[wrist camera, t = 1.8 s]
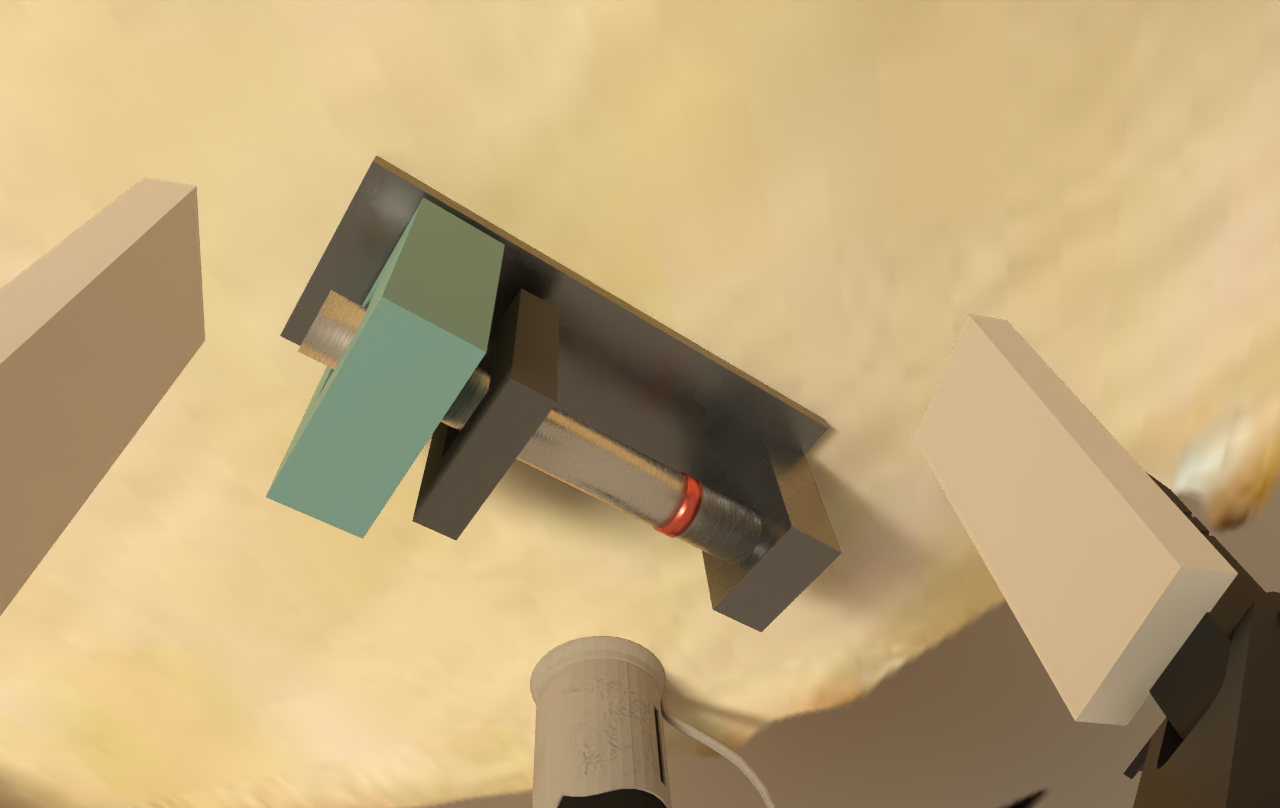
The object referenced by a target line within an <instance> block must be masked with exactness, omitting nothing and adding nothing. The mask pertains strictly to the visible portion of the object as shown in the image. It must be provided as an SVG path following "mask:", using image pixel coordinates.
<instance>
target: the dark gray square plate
mask: <svg viewBox="0 0 1280 808" xmlns="http://www.w3.org/2000/svg"><path fill="white" fill-rule="evenodd" d="M559 311H560V310H559V309H557V308H556V307H554V306H552V305H550V304H549V303H547V302H545V301H543V300H542V299H540V298H538V297H536V296H535V295H533V294H531V293H529V292H528V291H526V290H524V289H522V288H521V289H520V291H519V292H518V294H517V295H516V297H515V298H514V300H513V301H512V303H511V305H510V306H509V308H508V309H507V311H506V312H505V314H504V315H503V317H502V318H501V320H500V321H499V323H498V324H497V326H496V327H495V329H494V330H493V332H492V333H491V335H490V336H489V341H488V346H487V352H486V354H485V355H484V357H483V358H482V360H481V361H480V363H479V364H478V366H477V367H479V368H481V369H483V370H485V371H487V372H489V373H491V378H490V385H489V390H488V391H487V393H486V394H485V396H484V397H483V399H482V400H481V402H480V403H479V405H478V406H477V407H476V409H475V410H474V412H473V413H472V415H471V416H470V418H469V419H468V421H467V422H466V424H465V425H464V427H463V428H462V429H461V431H459V430H457V429H455V428H453V427H451V426H449V425H447V424H445V423H442V422H440V423H439V425H438V426H437V428H436V429H435V431H434V432H433V436H432V441H431V445H430V449H429V453H428V457H427V462H426V466H425V470H424V474H423V479H422V483H421V487H420V491H419V496H418V500H417V504H416V508H415V512H414V517H413V521H414V522H416V523H418V524H420V525H423V526H425V527H427V528H429V529H432V530H434V531H436V532H438V533H441V534H443V535H445V536H447V537H450V538H452V539H454V540H457V539H458V537H459V536H460V535H461V533H462V532H463V530H464V529H465V528H466V526H467V525H468V524H469V522H470V521H471V519H472V518H473V517H474V515H475V514H476V513H477V511H478V510H479V509H480V507H481V506H482V504H483V503H484V502H485V500H486V499H487V498H488V496H489V495H490V493H491V492H492V491H493V489H494V488H495V487H496V485H497V484H498V482H499V481H500V480H501V478H502V477H503V476H504V474H505V473H506V472H507V470H508V469H509V467H510V466H511V465H512V463H513V462H514V461H515V459H516V458H517V456H518V455H519V454H520V452H521V451H522V450H523V448H524V447H525V446H526V444H527V443H528V441H529V440H530V439H531V437H532V436H533V435H534V433H535V432H536V430H537V429H538V428H539V426H540V425H541V424H542V422H543V421H544V419H545V418H546V417H547V415H548V414H549V413H550V411H551V410H552V409H553V407H554V406H555V404H556V403H557V382H558V346H559Z"/></svg>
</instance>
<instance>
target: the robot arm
mask: <svg viewBox="0 0 1280 808" xmlns="http://www.w3.org/2000/svg"><path fill="white" fill-rule="evenodd" d="M204 341H205V330H204V312H203V294H202V276H201V258H200V240H199V222H198V204H197V186H193V185H187V184H181V183H175V182H169V181H163V180H157V179H151V178H145V177H144V178H143V179H142V180H140V181H139V182H138V183H136V184H135V185H134V186H133V187H131V188H130V189H129V190H127V191H126V192H125V193H124V194H122V195H121V196H120V197H118V198H117V199H116V200H115V201H113V202H112V203H111V204H109V205H108V206H107V207H106V208H104V209H103V210H102V211H100V212H99V213H98V214H96V215H95V216H94V217H93V218H91V219H90V220H89V221H87V222H86V223H85V224H84V225H82V226H81V227H80V228H78V229H77V230H76V231H75V232H73V233H72V234H71V235H69V236H68V237H67V238H66V239H64V240H63V241H62V242H60V243H59V244H58V245H57V246H55V247H54V248H53V249H51V250H50V251H49V252H48V253H46V254H45V255H44V256H42V257H41V258H40V259H39V260H37V261H36V262H35V263H33V264H32V265H31V266H29V267H28V268H27V269H26V270H24V271H23V272H22V273H20V274H19V275H18V276H17V277H15V278H14V279H13V280H11V281H10V282H9V283H8V284H6V285H5V286H4V287H2V288H1V289H0V616H1V614H2V613H3V612H4V610H5V609H6V608H7V606H8V605H9V604H10V602H11V601H12V600H13V598H14V597H15V596H16V594H17V593H18V591H19V590H20V589H21V587H22V586H23V585H24V583H25V582H26V581H27V579H28V578H29V577H30V575H31V574H32V573H33V571H34V570H35V569H36V567H37V566H38V565H39V563H40V562H41V560H42V559H43V558H44V556H45V555H46V554H47V552H48V551H49V550H50V548H51V547H52V546H53V544H54V543H55V542H56V540H57V539H58V538H59V536H60V535H61V534H62V532H63V531H64V530H65V528H66V527H67V525H68V524H69V523H70V521H71V520H72V519H73V517H74V516H75V515H76V513H77V512H78V511H79V509H80V508H81V507H82V505H83V504H84V503H85V501H86V500H87V499H88V497H89V496H90V494H91V493H92V492H93V490H94V489H95V488H96V486H97V485H98V484H99V482H100V481H101V480H102V478H103V477H104V476H105V474H106V473H107V472H108V470H109V469H110V468H111V466H112V465H113V463H114V462H115V461H116V459H117V458H118V457H119V455H120V454H121V453H122V451H123V450H124V449H125V447H126V446H127V445H128V443H129V442H130V441H131V439H132V438H133V437H134V435H135V434H136V433H137V431H138V430H139V428H140V427H141V426H142V424H143V423H144V422H145V420H146V419H147V418H148V416H149V415H150V414H151V412H152V411H153V410H154V408H155V407H156V406H157V404H158V403H159V402H160V400H161V399H162V397H163V396H164V395H165V393H166V392H167V391H168V389H169V388H170V387H171V385H172V384H173V383H174V381H175V380H176V379H177V377H178V376H179V375H180V373H181V372H182V371H183V369H184V368H185V366H186V365H187V364H188V362H189V361H190V360H191V358H192V357H193V356H194V354H195V353H196V352H197V350H198V349H199V348H200V346H201V345H202V344H203V342H204ZM914 441H915V443H916V444H917V446H918V448H919V450H920V451H921V453H922V455H923V457H924V458H925V460H926V462H927V464H928V465H929V467H930V469H931V471H932V472H933V474H934V476H935V478H936V479H937V481H938V483H939V484H940V486H941V488H942V490H943V491H944V493H945V495H946V497H947V498H948V500H949V502H950V504H951V505H952V507H953V509H954V511H955V512H956V514H957V516H958V518H959V519H960V521H961V523H962V525H963V526H964V528H965V530H966V532H967V533H968V535H969V537H970V538H971V540H972V542H973V544H974V545H975V547H976V549H977V551H978V552H979V554H980V556H981V558H982V559H983V561H984V563H985V565H986V566H987V568H988V570H989V572H990V573H991V575H992V577H993V579H994V580H995V582H996V584H997V586H998V587H999V589H1000V591H1001V592H1002V594H1003V596H1004V598H1005V599H1006V601H1007V603H1008V605H1009V606H1010V608H1011V610H1012V612H1013V613H1014V615H1015V617H1016V619H1017V620H1018V622H1019V624H1020V625H1021V627H1022V629H1023V631H1024V633H1025V634H1026V636H1027V638H1028V639H1029V641H1030V643H1031V645H1032V646H1033V648H1034V650H1035V652H1036V653H1037V655H1038V657H1039V658H1040V660H1041V662H1042V664H1043V666H1044V667H1045V669H1046V671H1047V673H1048V674H1049V676H1050V678H1051V679H1052V681H1053V682H1054V685H1055V687H1056V688H1057V690H1058V691H1059V694H1060V695H1061V697H1062V699H1063V701H1064V702H1065V704H1066V706H1067V707H1068V709H1069V711H1070V713H1071V714H1072V716H1073V718H1074V720H1075V721H1079V722H1090V723H1102V724H1113V725H1124V726H1127V725H1128V723H1129V722H1130V721H1131V719H1132V718H1133V717H1134V715H1135V714H1136V712H1137V711H1138V710H1139V708H1140V707H1141V706H1142V704H1143V703H1144V702H1145V700H1146V699H1147V697H1148V696H1149V695H1150V693H1151V695H1152V696H1153V698H1154V699H1155V701H1156V702H1157V704H1158V705H1159V706H1160V708H1161V710H1162V711H1163V712H1164V713H1165V715H1166V718H1165V720H1164V721H1163V722H1162V724H1161V725H1160V726H1159V728H1158V729H1157V730H1156V732H1155V733H1154V734H1153V736H1152V737H1151V738H1150V739H1149V741H1148V742H1147V744H1146V745H1145V746H1144V747H1143V749H1142V750H1141V752H1140V753H1139V754H1138V755H1137V757H1136V758H1135V759H1134V761H1133V762H1132V763H1131V765H1130V766H1129V767H1128V768H1127V770H1126V771H1125V772H1124V775H1126V776H1128V777H1129V778H1131V779H1132V778H1133V777H1134V776H1135V775H1136V774H1137V773H1138V772H1139V771H1142V775H1141V779H1140V783H1139V787H1138V790H1137V794H1136V798H1135V802H1134V806H1133V808H1280V593H1277V592H1268V593H1266V592H1265V591H1264V590H1263V589H1262V588H1261V587H1260V586H1259V585H1258V584H1257V583H1256V581H1255V580H1254V579H1253V578H1252V577H1251V576H1250V575H1249V574H1248V573H1247V572H1246V571H1245V570H1244V569H1243V567H1242V566H1241V565H1240V564H1239V563H1238V562H1237V561H1236V560H1235V559H1234V558H1233V557H1232V556H1231V555H1230V553H1229V552H1228V551H1227V550H1226V549H1225V548H1224V547H1223V546H1222V545H1221V544H1220V543H1219V542H1218V540H1217V539H1216V538H1215V537H1214V536H1209V531H1208V530H1207V529H1206V527H1205V526H1204V525H1203V524H1202V523H1201V522H1200V521H1199V520H1198V519H1197V518H1196V517H1191V514H1192V512H1191V511H1190V510H1189V509H1188V508H1187V507H1186V506H1185V505H1184V504H1183V503H1182V502H1181V501H1180V500H1179V498H1178V497H1177V496H1176V495H1175V494H1174V493H1173V492H1172V491H1171V490H1170V489H1169V488H1167V487H1166V486H1165V485H1163V484H1162V483H1160V482H1159V481H1158V480H1156V479H1155V478H1153V477H1152V476H1151V475H1149V474H1148V473H1146V472H1145V471H1144V470H1143V469H1142V468H1141V467H1140V465H1139V464H1138V463H1137V462H1136V461H1135V460H1134V459H1133V458H1132V457H1131V456H1130V454H1129V453H1128V452H1127V451H1126V450H1125V449H1124V448H1123V447H1122V446H1121V445H1120V444H1119V442H1118V441H1117V440H1116V439H1115V438H1114V437H1113V436H1112V435H1111V434H1110V433H1109V432H1108V430H1107V429H1106V428H1105V427H1104V426H1103V425H1102V424H1101V423H1100V422H1099V421H1098V419H1097V418H1096V417H1095V416H1094V415H1093V414H1092V413H1091V412H1090V411H1089V410H1088V409H1087V407H1086V406H1085V405H1084V404H1083V403H1082V402H1081V401H1080V400H1079V399H1078V398H1077V397H1076V395H1075V394H1074V393H1073V392H1072V391H1071V390H1070V389H1069V388H1068V387H1067V386H1066V384H1065V383H1064V382H1063V381H1062V380H1061V379H1060V378H1059V377H1058V376H1057V375H1056V374H1055V372H1054V371H1053V370H1052V369H1051V368H1050V367H1049V366H1048V365H1047V364H1046V363H1045V361H1044V360H1043V359H1042V358H1041V357H1040V356H1039V355H1038V354H1037V353H1036V352H1035V351H1034V349H1033V348H1032V347H1031V346H1030V345H1029V344H1028V343H1027V342H1026V341H1025V340H1024V339H1023V337H1022V336H1021V335H1020V334H1019V333H1018V332H1017V331H1016V330H1015V329H1014V328H1013V326H1012V325H1011V324H1010V323H1009V322H1008V321H1007V320H1001V319H995V318H989V317H983V316H977V315H971V314H968V316H967V318H966V320H965V322H964V325H963V327H962V329H961V332H960V334H959V336H958V338H957V341H956V343H955V345H954V348H953V350H952V352H951V355H950V357H949V359H948V361H947V364H946V366H945V368H944V371H943V373H942V375H941V378H940V380H939V382H938V384H937V387H936V389H935V391H934V394H933V396H932V398H931V400H930V403H929V405H928V407H927V410H926V412H925V414H924V417H923V419H922V421H921V423H920V426H919V428H918V430H917V433H916V435H915V437H914Z"/></svg>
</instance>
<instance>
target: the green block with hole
mask: <svg viewBox="0 0 1280 808" xmlns="http://www.w3.org/2000/svg"><path fill="white" fill-rule="evenodd" d="M504 246H505V245H504V244H503V243H501V242H499V241H497V240H496V239H494V238H492V237H491V236H489V235H487V234H485V233H484V232H482V231H480V230H479V229H477V228H475V227H473V226H472V225H470V224H468V223H467V222H465V221H463V220H461V219H460V218H458V217H456V216H455V215H453V214H451V213H449V212H448V211H446V210H444V209H443V208H441V207H439V206H437V205H436V204H434V203H432V202H431V201H429V200H427V199H425V198H423V199H422V201H421V203H420V205H419V206H418V208H417V210H416V212H415V213H414V215H413V217H412V219H411V220H410V222H409V224H408V226H407V227H406V229H405V231H404V233H403V234H402V236H401V238H400V240H399V241H398V243H397V245H396V247H395V248H394V250H393V252H392V254H391V255H390V257H389V259H388V261H387V262H386V264H385V266H384V268H383V269H382V271H381V273H380V275H379V276H378V278H377V280H376V282H375V283H374V285H373V287H372V289H371V290H370V292H369V294H368V296H367V297H366V299H365V301H364V303H363V304H362V306H363V307H365V308H367V311H366V313H365V315H364V318H363V320H362V322H361V324H360V326H359V328H358V329H357V331H356V333H355V335H354V336H353V338H352V340H351V342H350V343H349V345H348V347H347V348H346V350H345V352H344V354H343V355H342V357H341V359H340V361H339V362H338V364H337V366H336V368H335V369H333V368H331V367H329V366H327V368H326V370H325V372H324V374H323V376H322V378H321V380H320V382H319V385H318V387H317V389H316V391H315V393H314V395H313V397H312V399H311V402H310V404H309V406H308V408H307V410H306V412H305V414H304V416H303V419H302V421H301V423H300V425H299V427H298V429H297V431H296V434H295V436H294V438H293V440H292V442H291V444H290V446H289V448H288V451H287V453H286V455H285V457H284V459H283V461H282V463H281V465H280V468H279V470H278V472H277V474H276V476H275V478H274V480H273V482H272V485H271V487H270V489H269V491H268V493H267V495H266V497H267V498H269V499H271V500H274V501H276V502H278V503H281V504H283V505H286V506H288V507H290V508H293V509H295V510H297V511H300V512H302V513H304V514H307V515H309V516H311V517H314V518H316V519H318V520H321V521H323V522H325V523H328V524H330V525H332V526H335V527H337V528H339V529H342V530H344V531H346V532H349V533H351V534H353V535H356V536H358V537H360V538H364V536H365V535H366V533H367V532H368V530H369V529H370V527H371V526H372V524H373V523H374V521H375V520H376V518H377V516H378V515H379V513H380V512H381V510H382V509H383V507H384V506H385V504H386V503H387V501H388V500H389V498H390V497H391V495H392V494H393V492H394V491H395V489H396V488H397V486H398V485H399V483H400V482H401V480H402V479H403V477H404V476H405V474H406V473H407V471H408V470H409V468H410V467H411V465H412V464H413V462H414V461H415V459H416V458H417V456H418V455H419V453H420V452H421V450H422V449H423V447H424V446H425V444H426V443H427V441H428V440H429V438H430V437H431V435H432V434H433V432H434V431H435V429H436V428H437V426H438V425H439V423H440V422H441V420H442V419H443V417H444V416H445V414H446V413H447V411H448V410H449V408H450V407H451V405H452V404H453V402H454V401H455V399H456V398H457V396H458V395H459V393H460V392H461V390H462V389H463V387H464V386H465V384H466V382H467V381H468V379H469V378H470V376H471V375H472V373H473V372H474V370H475V369H476V367H477V366H478V364H479V363H480V361H481V360H482V358H483V357H484V355H485V354H486V352H487V346H488V341H489V335H490V329H491V323H492V317H493V311H494V305H495V299H496V293H497V287H498V281H499V276H500V270H501V264H502V258H503V252H504Z"/></svg>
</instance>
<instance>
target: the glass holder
mask: <svg viewBox="0 0 1280 808" xmlns="http://www.w3.org/2000/svg"><path fill="white" fill-rule="evenodd" d="M664 688H665V674H664V670H663V668H662V665H661V663H660V662H659V660H658V659H657V658H656V656H655V655H653V654H652V653H651V652H650V651H649V650H648V649H646V648H644V647H643V646H641V645H639V644H637V643H634V642H632V641H630V640H626V639H622V638H617V637H609V636H593V637H585V638H580V639H576V640H572V641H569V642H567V643H564V644H562V645H559V646H558V647H556V648H554V649H553V650H551V651H550V652H548V653H547V654H546V655H545V656H544V657H543V658H542V659H541V660H540V661H539V662H538V664H537V665H536V667H535V669H534V670H533V672H532V676H531V680H530V689H531V694H532V697H533V700H534V702H535V704H536V729H535V753H534V777H533V802H532V808H671V800H670V789H669V780H668V770H667V760H666V750H665V741H664V731H663V721H662V715H663V717H664V718H665V720H666V721H667V722H668V723H670V724H671V725H673V726H674V727H675V728H677V729H679V730H680V731H682V732H683V733H685V734H687V735H688V736H690V737H692V738H694V739H695V740H697V741H699V742H701V743H703V744H705V745H706V746H708V747H710V748H711V749H713V750H714V751H716V752H718V753H719V754H721V755H722V756H723V757H725V758H726V759H728V760H729V761H730V762H732V763H733V764H734V765H736V766H737V767H738V768H739V769H740V770H741V771H742V772H743V773H744V774H745V776H746V777H747V778H748V779H749V780H750V781H751V783H752V784H753V786H754V787H755V788H756V790H757V791H758V792H759V794H760V795H761V797H762V799H763V801H764V802H765V805H766V807H767V808H776V807H775V805H774V803H773V801H772V799H771V797H770V795H769V793H768V791H767V789H766V787H765V785H764V784H763V783H762V781H761V780H760V779H759V777H758V776H757V775H756V773H755V772H754V771H753V769H752V768H751V767H750V766H749V765H748V764H747V763H746V762H745V761H744V759H743V758H742V757H741V756H739V755H738V754H737V753H735V752H734V751H732V750H731V749H730V748H728V747H726V746H725V745H723V744H721V743H720V742H718V741H717V740H715V739H714V738H712V737H710V736H709V735H707V734H705V733H703V732H702V731H700V730H698V729H696V728H694V727H693V726H691V725H689V724H687V723H686V722H684V721H682V720H681V719H679V718H678V717H676V716H675V715H673V714H672V713H670V712H669V711H668V709H667V707H666V701H665V699H662V700H661V702H660V699H661V697H662V694H663V691H664Z"/></svg>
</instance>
